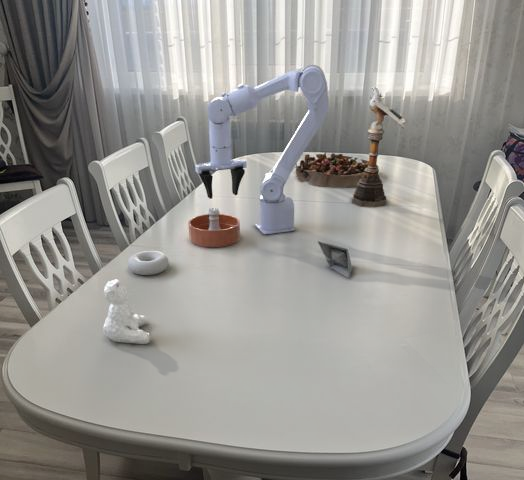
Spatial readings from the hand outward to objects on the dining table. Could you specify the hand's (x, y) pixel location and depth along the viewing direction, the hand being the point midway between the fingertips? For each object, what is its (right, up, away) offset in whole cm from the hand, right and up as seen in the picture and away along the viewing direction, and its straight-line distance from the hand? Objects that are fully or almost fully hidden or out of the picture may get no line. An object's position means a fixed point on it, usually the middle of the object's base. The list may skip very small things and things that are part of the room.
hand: (222, 196), depth 156 cm
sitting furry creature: (-16, -41, -47) cm, 65 cm away
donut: (-17, -24, -20) cm, 35 cm away
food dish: (+39, +24, +55) cm, 71 cm away
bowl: (-2, -13, -3) cm, 13 cm away
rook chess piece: (-2, -13, -3) cm, 13 cm away
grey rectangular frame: (+29, -24, -20) cm, 43 cm away
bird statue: (+49, +6, +27) cm, 56 cm away
